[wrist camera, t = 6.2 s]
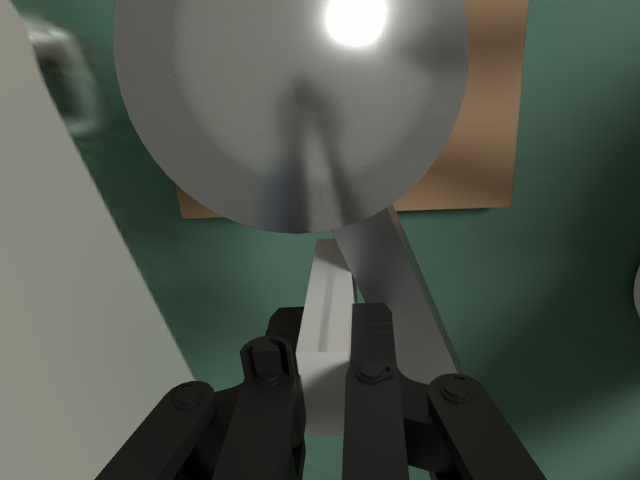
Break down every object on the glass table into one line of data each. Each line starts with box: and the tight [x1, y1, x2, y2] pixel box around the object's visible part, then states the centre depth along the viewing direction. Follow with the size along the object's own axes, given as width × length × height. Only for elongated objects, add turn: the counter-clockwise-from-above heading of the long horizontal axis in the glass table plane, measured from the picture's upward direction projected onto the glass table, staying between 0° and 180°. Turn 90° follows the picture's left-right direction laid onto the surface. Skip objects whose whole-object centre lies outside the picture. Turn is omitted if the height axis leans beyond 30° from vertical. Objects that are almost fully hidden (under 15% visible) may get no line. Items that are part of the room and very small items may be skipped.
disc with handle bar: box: [113, 0, 469, 384], centre depth 14 cm, size 27×9×4 cm, turn 25°
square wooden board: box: [175, 0, 528, 219], centre depth 21 cm, size 18×18×10 cm
